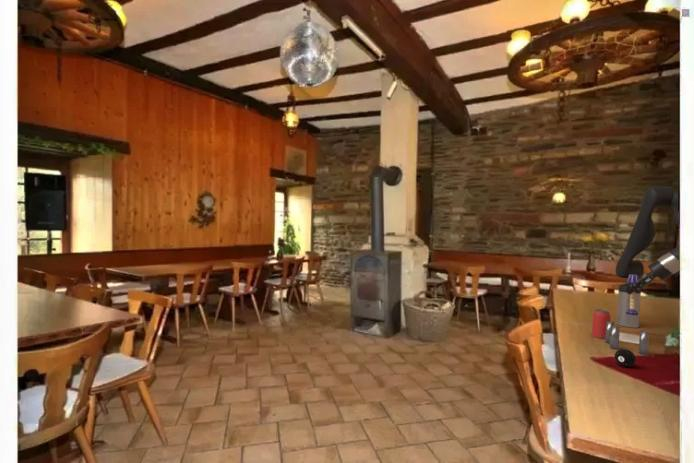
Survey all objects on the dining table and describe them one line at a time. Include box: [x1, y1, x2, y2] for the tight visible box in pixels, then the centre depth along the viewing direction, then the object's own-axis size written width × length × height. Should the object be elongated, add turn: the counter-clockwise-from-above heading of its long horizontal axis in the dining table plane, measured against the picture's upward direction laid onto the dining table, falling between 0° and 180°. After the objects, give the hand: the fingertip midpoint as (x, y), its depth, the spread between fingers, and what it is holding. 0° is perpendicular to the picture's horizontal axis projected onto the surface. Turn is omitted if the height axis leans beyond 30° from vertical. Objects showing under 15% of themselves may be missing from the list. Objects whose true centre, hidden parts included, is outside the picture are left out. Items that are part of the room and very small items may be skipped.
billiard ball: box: [614, 348, 636, 368], centre depth 139 cm, size 6×6×6 cm
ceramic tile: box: [619, 332, 640, 345], centre depth 173 cm, size 12×12×1 cm
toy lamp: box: [626, 274, 640, 315], centre depth 163 cm, size 5×5×17 cm
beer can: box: [591, 308, 611, 340], centre depth 175 cm, size 7×7×12 cm
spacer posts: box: [604, 320, 650, 356], centre depth 159 cm, size 11×16×9 cm, turn 39°
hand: (627, 291), depth 164 cm, fingers closed on toy lamp, 4 cm apart
